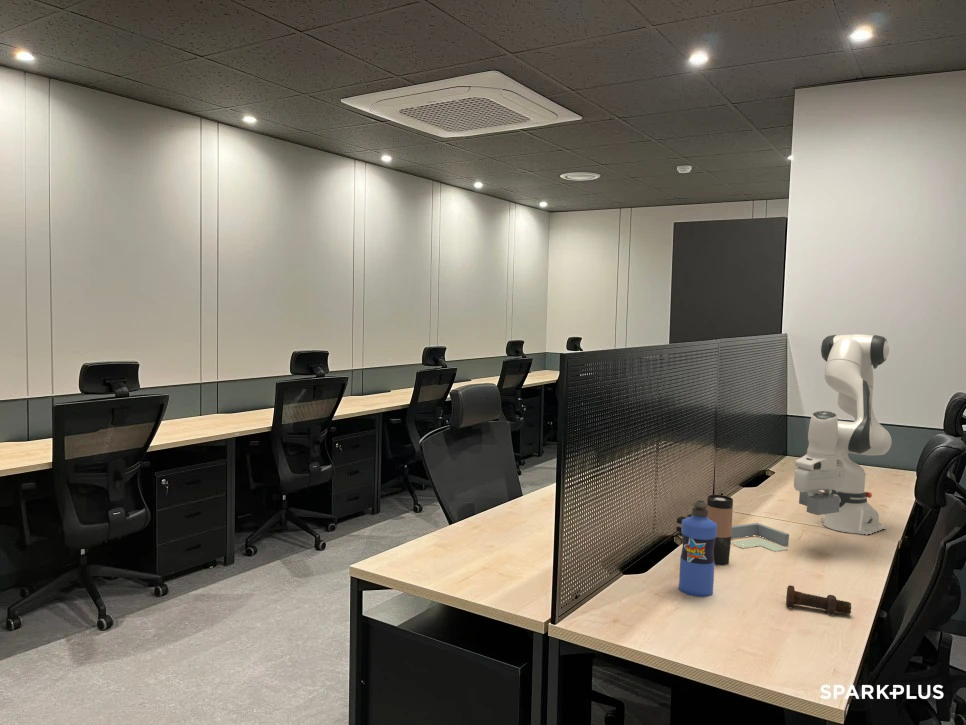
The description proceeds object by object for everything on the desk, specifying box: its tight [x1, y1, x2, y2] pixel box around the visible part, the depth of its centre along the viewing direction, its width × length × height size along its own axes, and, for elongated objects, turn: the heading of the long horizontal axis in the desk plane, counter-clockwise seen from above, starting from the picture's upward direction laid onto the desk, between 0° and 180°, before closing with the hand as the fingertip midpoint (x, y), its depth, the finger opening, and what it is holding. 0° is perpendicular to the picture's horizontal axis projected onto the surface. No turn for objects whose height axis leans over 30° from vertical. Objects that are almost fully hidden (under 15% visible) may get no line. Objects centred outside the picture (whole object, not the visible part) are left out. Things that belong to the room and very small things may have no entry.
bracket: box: [798, 490, 840, 516], centre depth 225 cm, size 10×12×5 cm
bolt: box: [785, 584, 852, 615], centre depth 179 cm, size 6×5×15 cm
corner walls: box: [731, 522, 790, 547], centre depth 234 cm, size 18×14×4 cm
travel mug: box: [706, 494, 734, 566], centre depth 214 cm, size 8×8×20 cm
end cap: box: [675, 513, 693, 538], centre depth 240 cm, size 10×7×7 cm
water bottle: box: [678, 500, 717, 598], centre depth 189 cm, size 9×9×25 cm
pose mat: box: [731, 537, 789, 553], centre depth 230 cm, size 14×12×1 cm
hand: (818, 502), depth 226 cm, fingers closed on bracket, 4 cm apart
